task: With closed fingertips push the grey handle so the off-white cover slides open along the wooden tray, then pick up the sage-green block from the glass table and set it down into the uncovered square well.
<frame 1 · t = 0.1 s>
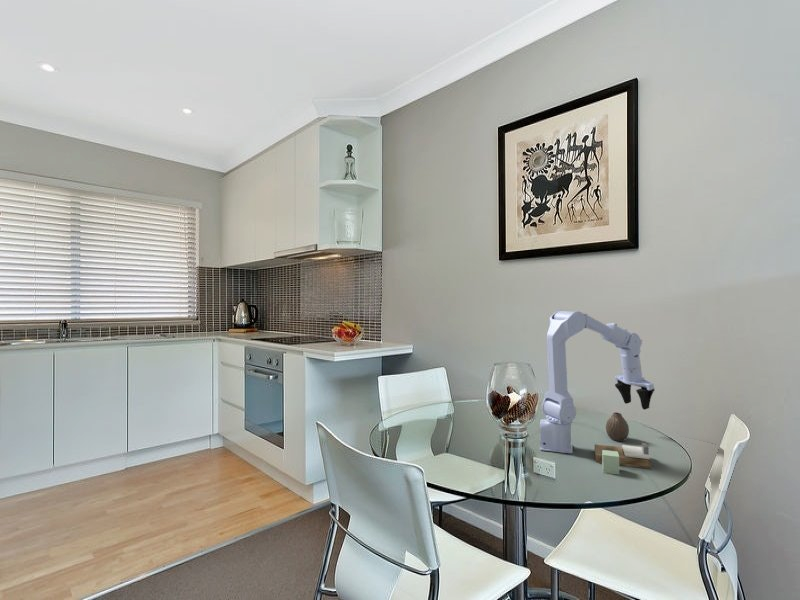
hand: (636, 405, 149), 11 cm above the table, tool pointing down, fingers open, 7 cm apart
block: (610, 470, 122), on the table
vase: (617, 439, 147), on the table
wooden tray: (621, 459, 130), on the table
cover: (635, 448, 128), point 4 cm above the table, slide at 0.0 cm
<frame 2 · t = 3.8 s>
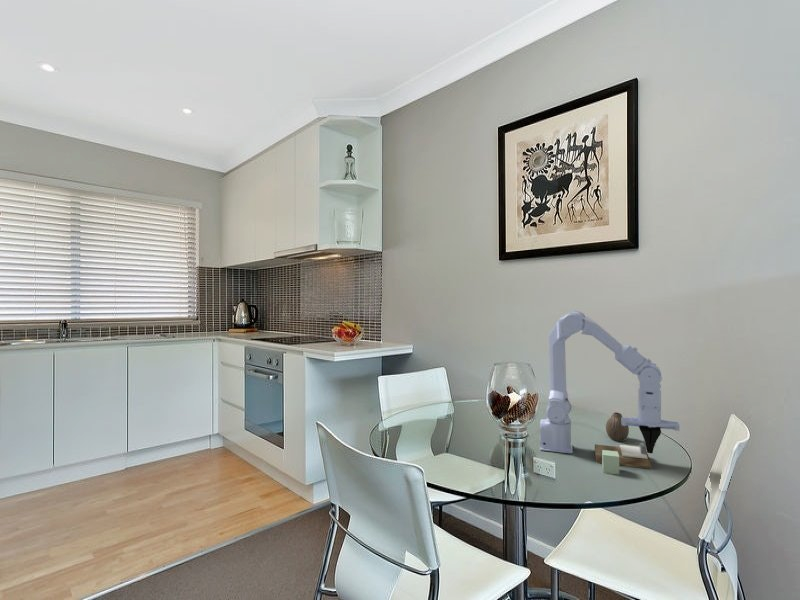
hand: (649, 452, 127), 3 cm above the table, tool pointing down, fingers closed
cover: (633, 448, 128), point 4 cm above the table, slide at 0.7 cm, touching gripper
everything else where it was.
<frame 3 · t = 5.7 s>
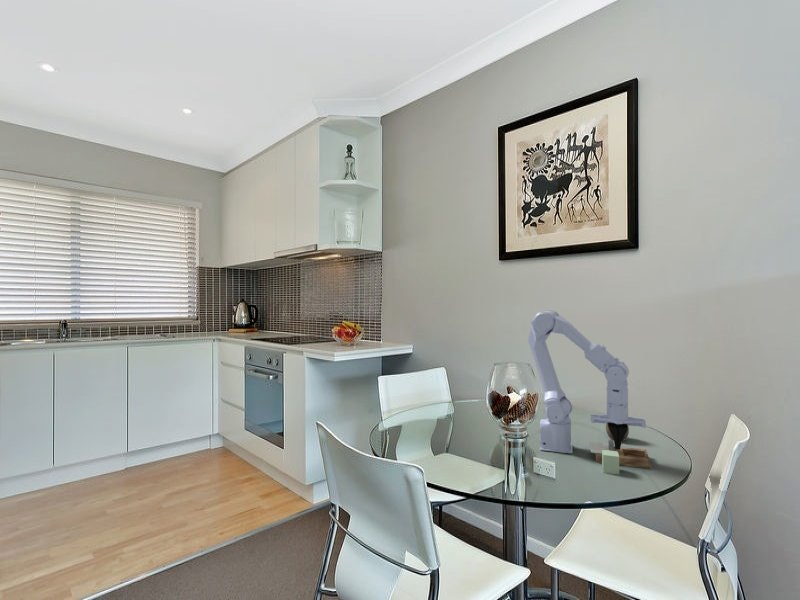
hand: (617, 448, 130), 3 cm above the table, tool pointing down, fingers closed
cover: (601, 444, 132), point 4 cm above the table, slide at 9.0 cm, touching gripper
everything else where it was.
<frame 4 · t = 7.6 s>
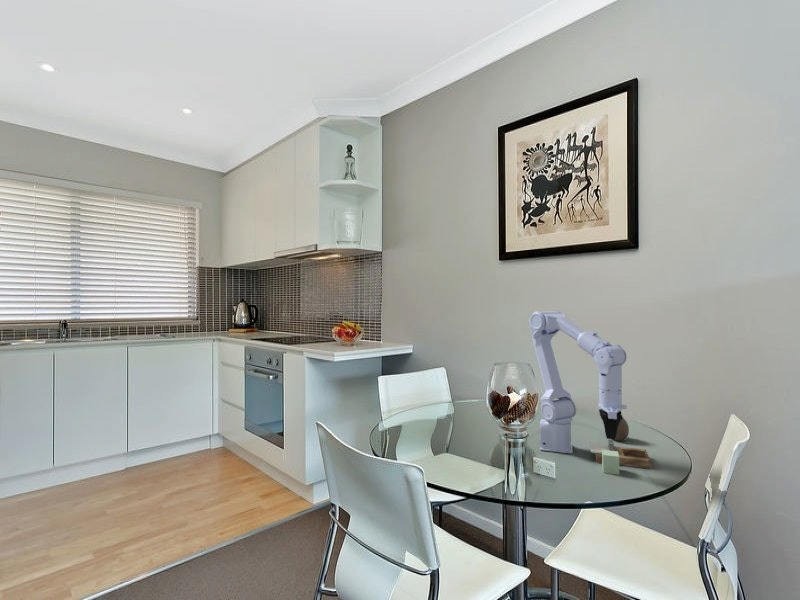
hand: (610, 437, 122), 9 cm above the table, tool pointing down, fingers closed
cover: (601, 444, 132), point 4 cm above the table, slide at 9.0 cm
everything else where it was.
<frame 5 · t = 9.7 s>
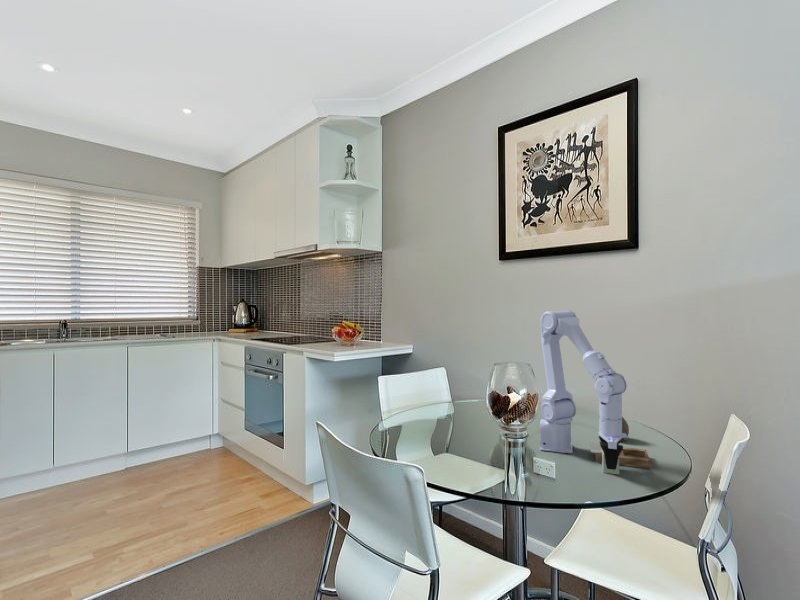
hand: (610, 465, 122), 1 cm above the table, tool pointing down, fingers closed on block, 4 cm apart
block: (610, 470, 122), on the table, touching gripper
everything else where it was.
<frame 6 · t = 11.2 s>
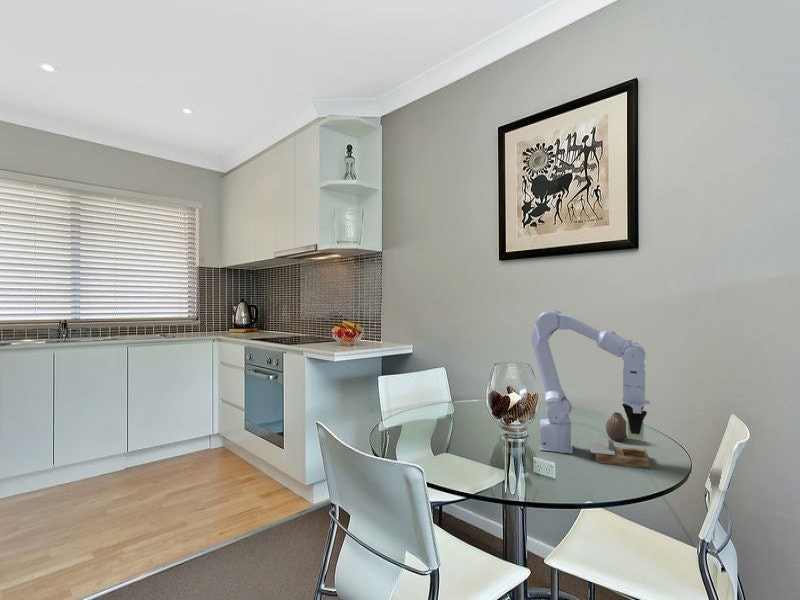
hand: (634, 431, 128), 9 cm above the table, tool pointing down, fingers closed on block, 4 cm apart
block: (634, 437, 128), point 7 cm above the table, touching gripper
everything else where it was.
when the fingers open (3 cm above the table, at t = 12.7 s): block stays where it is, resting on wooden tray.
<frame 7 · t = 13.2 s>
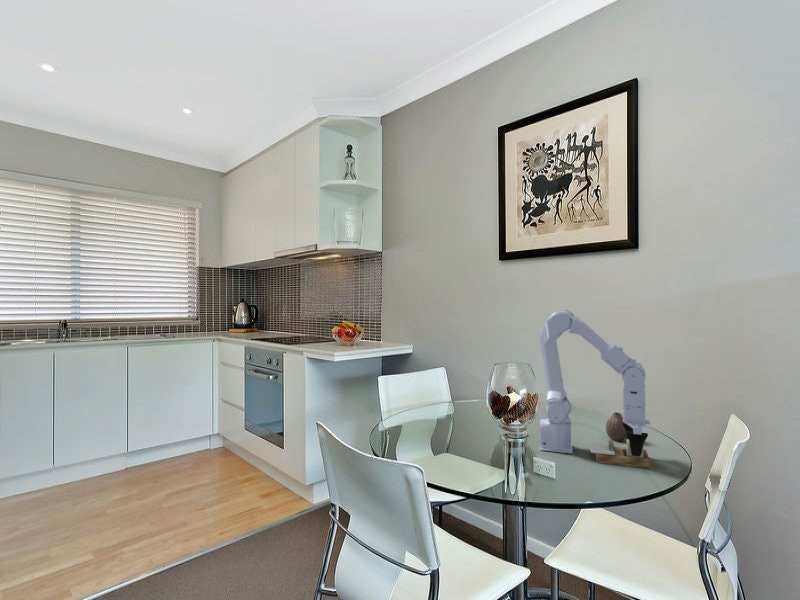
hand: (634, 450, 128), 3 cm above the table, tool pointing down, fingers open, 7 cm apart
block: (634, 459, 128), point 1 cm above the table, touching wooden tray
everything else where it was.
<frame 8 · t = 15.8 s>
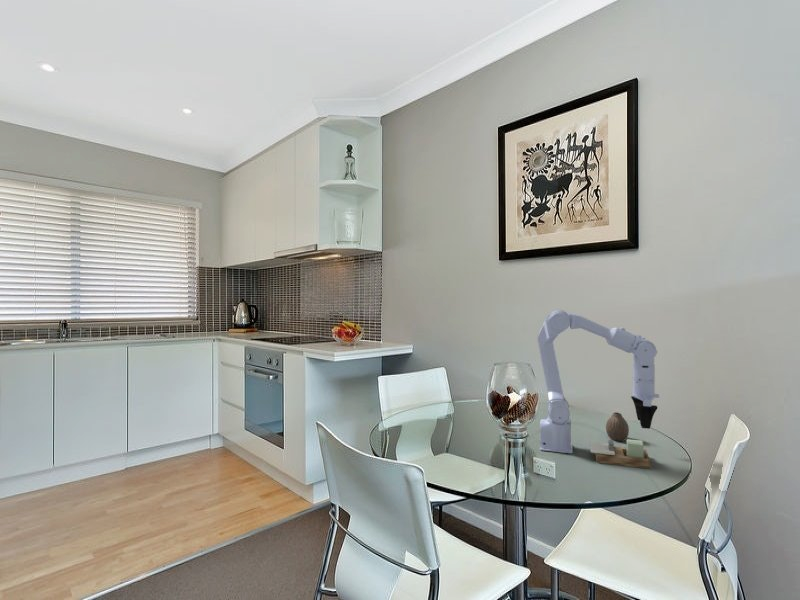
hand: (643, 424, 131), 10 cm above the table, tool pointing down, fingers open, 7 cm apart
nothing on the table moved.
at the end: cover slide at 9.0 cm; block 0.1 cm from the target spot on the wooden tray, point 0.6 cm above the wooden tray's base; the gripper is holding nothing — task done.
